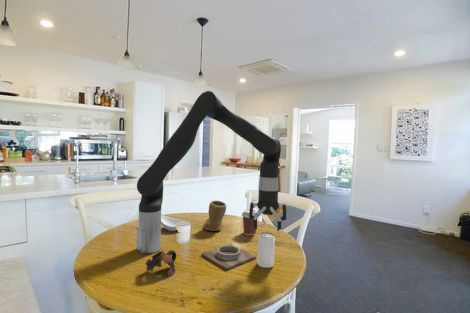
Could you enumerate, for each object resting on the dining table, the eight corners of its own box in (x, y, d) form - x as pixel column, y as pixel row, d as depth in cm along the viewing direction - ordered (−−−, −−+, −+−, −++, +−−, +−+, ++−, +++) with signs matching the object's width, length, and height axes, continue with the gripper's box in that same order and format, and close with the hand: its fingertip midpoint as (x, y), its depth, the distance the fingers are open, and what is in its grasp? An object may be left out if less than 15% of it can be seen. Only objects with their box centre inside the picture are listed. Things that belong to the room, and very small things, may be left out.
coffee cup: (261, 232, 135) (262, 210, 135) (253, 238, 127) (254, 214, 127) (246, 229, 140) (247, 207, 139) (237, 234, 132) (238, 211, 132)
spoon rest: (188, 227, 140) (188, 214, 140) (178, 234, 129) (179, 220, 129) (150, 222, 146) (151, 210, 146) (138, 229, 135) (138, 216, 135)
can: (263, 270, 95) (264, 238, 95) (254, 262, 101) (255, 232, 100) (277, 266, 98) (278, 236, 98) (267, 259, 104) (268, 230, 103)
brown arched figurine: (166, 283, 85) (154, 262, 85) (149, 287, 90) (137, 267, 89) (186, 260, 96) (176, 241, 95) (170, 264, 100) (160, 247, 100)
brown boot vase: (224, 233, 133) (225, 204, 132) (202, 232, 133) (203, 203, 133) (226, 224, 148) (227, 198, 148) (206, 223, 149) (207, 197, 148)
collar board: (226, 270, 94) (226, 262, 94) (201, 255, 106) (201, 248, 105) (255, 258, 105) (256, 251, 105) (230, 246, 116) (230, 239, 116)
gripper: (286, 187, 101) (284, 227, 102) (250, 186, 103) (249, 225, 104) (287, 191, 94) (286, 234, 94) (249, 189, 95) (248, 231, 96)
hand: (267, 229), depth 99 cm, fingers open, 8 cm apart
